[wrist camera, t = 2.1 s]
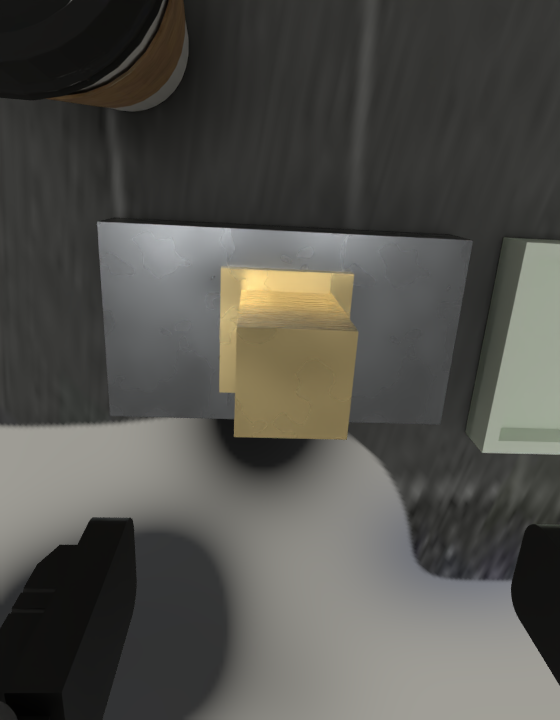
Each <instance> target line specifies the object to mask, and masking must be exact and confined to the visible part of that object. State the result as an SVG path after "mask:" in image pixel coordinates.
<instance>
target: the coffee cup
mask: <svg viewBox="0 0 560 720" xmlns="http://www.w3.org/2000/svg"><path fill="white" fill-rule="evenodd" d="M188 55H189V38H188V32H187V26H186V21H185V11H184V2H183V0H0V98H11V99H23V100H39V99H51V100H57V101H64V102H71V103H78V104H84V105H91V106H98V107H108V108H112V109H116V110H120V111H132V112H134V111H141V110H147V109H149V108H152V107H155V106H157V105H158V104H160V103H161V102H163V101H164V100H166V99H167V98H168V97H169V96H170V95H171V94H172V93H173V92H174V91H175V89H176V88H177V86H178V85H179V83H180V81H181V80H182V77H183V75H184V72H185V69H186V65H187V60H188Z"/></svg>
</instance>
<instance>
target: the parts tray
mask: <svg viewBox="0 0 560 720" xmlns="http://www.w3.org/2000/svg"><path fill="white" fill-rule="evenodd" d="M465 433H466V434H467V435H468V437H469V438H470V439H471V440H472V441H473V442H474V444H475V445H476V446H477V447H478V448H479V450H480V451H481V452H482V453H517V454H560V240H547V239H527V238H507V237H503V242H502V248H501V253H500V258H499V263H498V268H497V273H496V278H495V283H494V288H493V293H492V298H491V303H490V308H489V313H488V319H487V324H486V329H485V334H484V339H483V344H482V349H481V354H480V359H479V364H478V369H477V374H476V379H475V384H474V390H473V395H472V400H471V405H470V410H469V415H468V420H467V425H466V430H465Z"/></svg>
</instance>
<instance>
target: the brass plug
mask: <svg viewBox="0 0 560 720" xmlns="http://www.w3.org/2000/svg"><path fill="white" fill-rule="evenodd" d="M353 282H354V273H352V272H340V271H318V270H296V269H274V268H252V267H230V266H221V294H220V371H219V392H223V393H235V416H234V437H258V438H301V439H342V440H345V439H346V440H347V433H348V424H349V415H350V405H351V396H352V387H353V378H354V369H355V360H356V351H357V341H358V330H357V329H356V327H355V326H354V324H353V323H352V322H351V320H350V311H351V301H352V291H353Z"/></svg>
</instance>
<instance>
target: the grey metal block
mask: <svg viewBox="0 0 560 720" xmlns="http://www.w3.org/2000/svg"><path fill="white" fill-rule="evenodd" d="M97 228H98V243H99V258H100V272H101V287H102V302H103V317H104V332H105V346H106V361H107V376H108V391H109V406H110V416H136V417H174V418H214V419H234V416H235V393H223V392H219V371H220V294H221V266H230V267H252V268H274V269H296V270H318V271H340V272H352V273H354V282H353V291H352V301H351V311H350V320H351V322H352V323H353V324H354V326H355V327H356V329H357V330H358V341H357V351H356V360H355V369H354V378H353V387H352V396H351V405H350V415H349V422H366V423H404V424H440V423H441V418H442V412H443V407H444V401H445V395H446V390H447V384H448V378H449V373H450V367H451V362H452V356H453V350H454V345H455V339H456V333H457V328H458V322H459V316H460V311H461V305H462V300H463V294H464V288H465V283H466V277H467V271H468V266H469V260H470V255H471V249H472V243H473V240H469V239H465V238H461V237H458V236H454V235H448V234H428V233H409V232H389V231H369V230H349V229H330V228H310V227H290V226H270V225H251V224H231V223H211V222H191V221H172V220H152V219H132V218H110V219H106V220H102V221H98V222H97Z"/></svg>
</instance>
